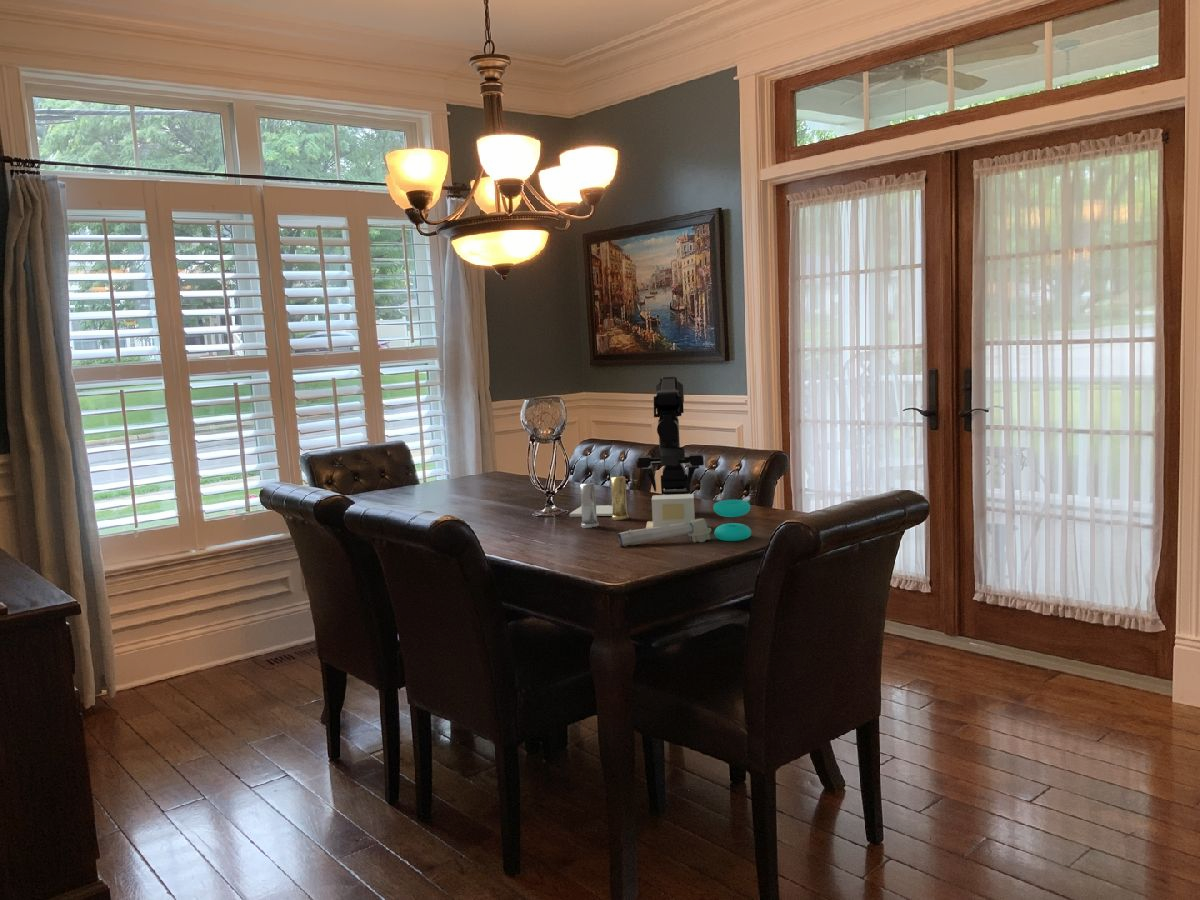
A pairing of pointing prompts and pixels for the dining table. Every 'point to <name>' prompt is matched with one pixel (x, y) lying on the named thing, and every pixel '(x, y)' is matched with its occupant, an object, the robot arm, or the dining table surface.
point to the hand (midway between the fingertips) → (671, 490)
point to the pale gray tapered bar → (667, 533)
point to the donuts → (732, 529)
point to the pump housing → (671, 510)
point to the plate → (600, 511)
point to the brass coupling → (619, 498)
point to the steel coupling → (588, 505)
